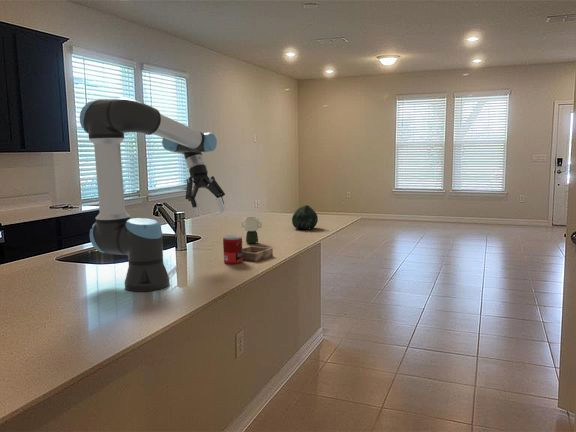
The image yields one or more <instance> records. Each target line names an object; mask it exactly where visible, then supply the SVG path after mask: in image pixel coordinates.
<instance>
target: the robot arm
mask: <svg viewBox="0 0 576 432" xmlns="http://www.w3.org/2000/svg"><path fill="white" fill-rule="evenodd" d="M79 125H80V126H81V128H82V129H83V131H84V132H85V133H86V134H88V140H89V141H90V142H91V143H92V144H93V148H94V149H93V150H94V159H95V160H94V161H95V170H96V171H95V173H96V183H97V197H98V209H99V213H98V214H97V215H96V216H95V222H94V223H93V224H92V226H91V228H90V229H89V240H90V243H91V245H92V247H93V248H94V249H95V250H97V251H98V252H100V253H103V254H107V255H121V256H127V257H128V259H127V260H128V268H127V272H126V275H125V279H124V289H125V290H127V291H129V292H136V293H137V292H152V291H157V290H161V289H165V288H167V287H169V286H170V277H169V274H168V272H167V268H166V266H165V263H164V249H163V248H164V247H163V245H164V244H163V231H162V225H161V223H160V222H159V221H158V220H155V219H153V218H145V217H144V218H143V217H137V218H135V217H133V218H131V215H130V214H129V213H128V212H127V211H126V207H125V206H126V205H125V204H126V203H125V192H124V179H123V166H122V165H123V164H122V152H121V151H122V149H121V144H122V142H123V141H124V140H125V134H127V133H129V134H130V133H134V134H135V133H140V134H143V135H146V136H150V135H155V136H157V137H161V138H162V141H161V144H162V148H163V149H165V150H166V151H168V152H171V153H178V154H181V155H183V157H184V160H185V164H186V166H187V169H188V173H189V177H188V178H186V179H185V180H186V181H185V182H186V191H185V199H186V200H188V202H190V204H191V206H192V208H193V210H194V212H195V216H199V215H201V214H202V210H201V208H200V204H199V201H198V198H196V197H197V194H198V192H199V189H201V188H202V189H206V190H208V191H209V192H211V194H212V195H213V196H215V198H216V203H217V207H218V209H219V213H220V214H222V213H225V212H226V208H225V202H224V199H223V197H224V196H225V195H226V193H225V192H224V190H223V189H222V188H221V186H220V185H219V183H218V182H217V181H216V179H215V176H213V175H212V176H211V177H209V176H208V169H207V165H206V163H205V160H204V157H203V153H208V152H214V151H215V150H216V148H217V144H218V140H217V137H216V135H215V134H214V133H212V132H201V131H199V130H196V129H195V128H192V127H190V126H188V125H186V124H184V123H181V122H179V121H177V120H175V119H173V118H170V117H168V116H167V115H163V114H161V113H160V110H159V109H157V108H155V107H153V106H151V105H148V104H146V103H144V102H141V101H138V100H136V99H132V98H127V97H118V98H102V99H101V98H100V99H98V98H97V99H95V100H90V101H88V102H87V103H85V104H84V106H83V107H82V108H81V110H80V113H79ZM193 184H194V185H193Z"/></svg>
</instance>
